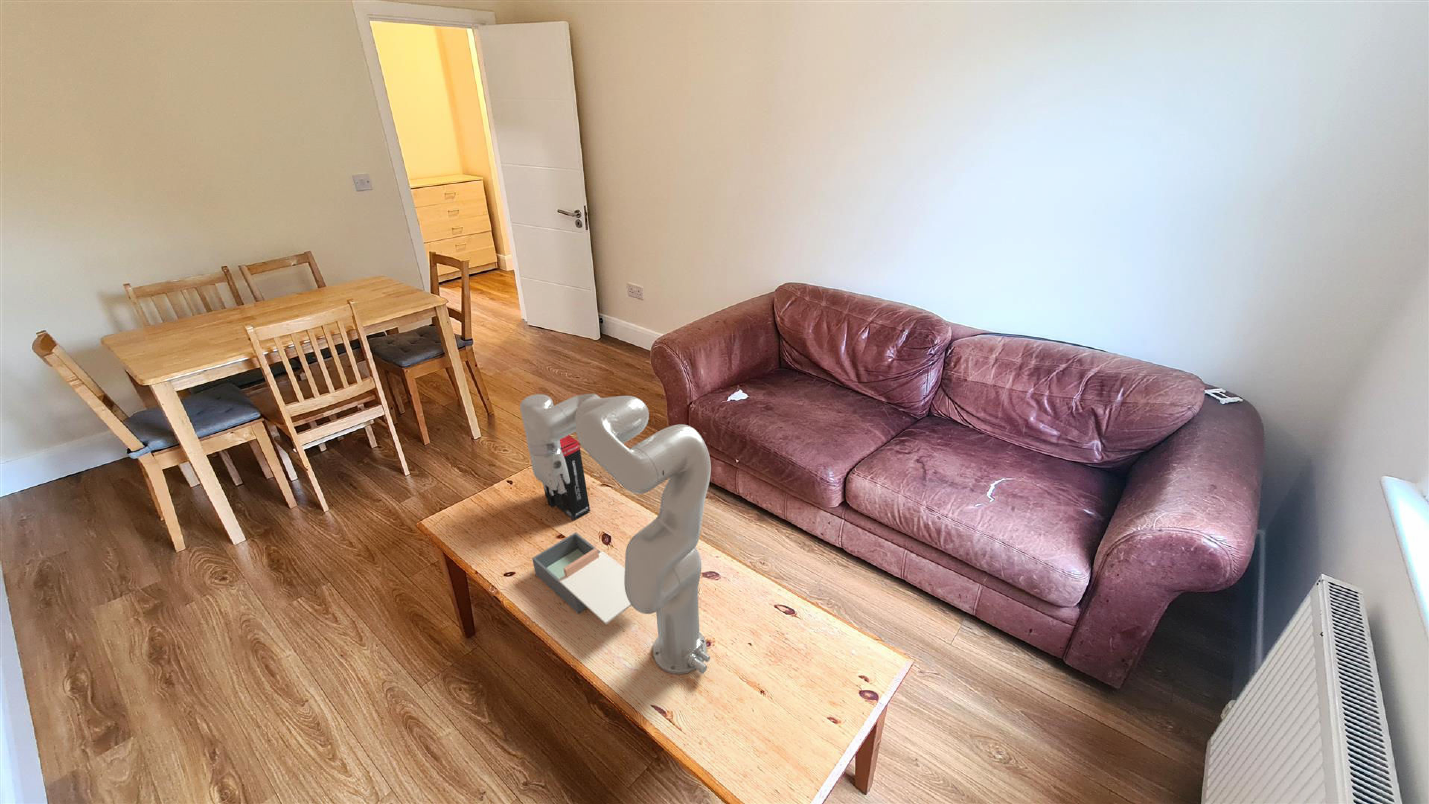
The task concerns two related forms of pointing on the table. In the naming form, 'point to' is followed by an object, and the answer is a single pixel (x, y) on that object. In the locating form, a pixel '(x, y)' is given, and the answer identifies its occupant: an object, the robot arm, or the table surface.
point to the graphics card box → (573, 481)
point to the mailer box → (561, 566)
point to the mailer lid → (597, 584)
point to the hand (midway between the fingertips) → (555, 504)
